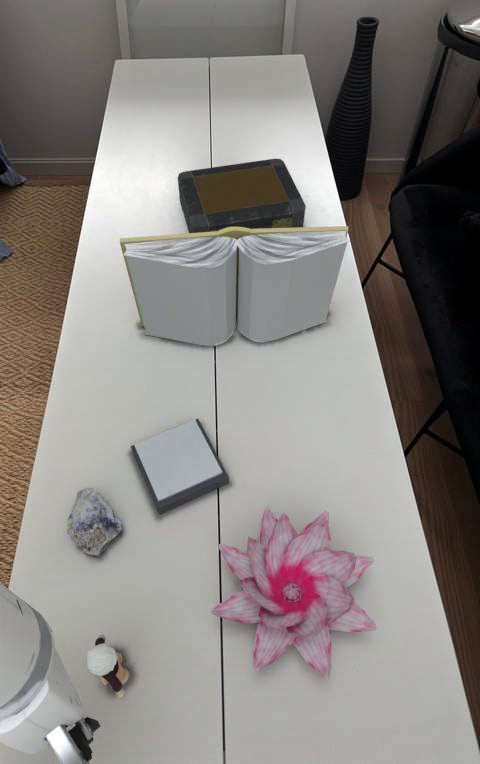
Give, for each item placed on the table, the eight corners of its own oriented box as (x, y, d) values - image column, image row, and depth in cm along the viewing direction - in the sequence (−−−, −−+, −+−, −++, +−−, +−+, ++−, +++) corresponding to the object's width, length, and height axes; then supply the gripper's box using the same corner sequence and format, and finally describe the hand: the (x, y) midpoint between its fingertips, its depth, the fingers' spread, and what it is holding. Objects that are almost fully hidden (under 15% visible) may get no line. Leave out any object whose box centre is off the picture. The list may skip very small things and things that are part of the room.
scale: (159, 515, 85) (156, 507, 82) (132, 453, 91) (129, 444, 89) (228, 483, 88) (228, 475, 85) (198, 425, 94) (197, 416, 92)
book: (324, 307, 110) (346, 219, 88) (330, 340, 106) (355, 257, 84) (142, 319, 108) (119, 233, 86) (142, 353, 105) (118, 272, 83)
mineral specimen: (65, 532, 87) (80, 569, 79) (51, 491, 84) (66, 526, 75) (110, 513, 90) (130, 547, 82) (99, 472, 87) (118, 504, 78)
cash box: (279, 183, 134) (281, 154, 127) (304, 236, 122) (308, 207, 116) (178, 198, 130) (175, 169, 124) (195, 254, 119) (192, 226, 113)
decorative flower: (357, 529, 84) (378, 488, 71) (373, 688, 71) (402, 671, 59) (217, 525, 84) (214, 484, 72) (209, 683, 72) (204, 666, 59)
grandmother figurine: (89, 659, 73) (64, 641, 63) (113, 639, 75) (93, 618, 64) (120, 710, 70) (100, 700, 60) (145, 688, 71) (129, 675, 61)
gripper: (-104, 585, 40) (-15, 632, 54) (-11, 829, 32) (64, 810, 46) (-5, 525, 43) (55, 585, 57) (102, 738, 35) (141, 746, 49)
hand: (59, 686), depth 51 cm, fingers open, 9 cm apart
